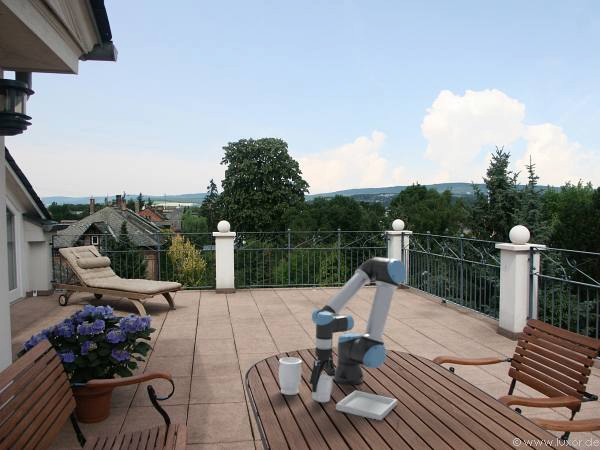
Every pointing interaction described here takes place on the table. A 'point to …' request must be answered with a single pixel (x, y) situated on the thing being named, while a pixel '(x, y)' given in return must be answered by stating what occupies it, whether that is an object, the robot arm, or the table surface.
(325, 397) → the white cup
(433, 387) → the table surface
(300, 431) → the table surface
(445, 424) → the table surface
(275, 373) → the table surface
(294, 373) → the jar
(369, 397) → the grey tray
